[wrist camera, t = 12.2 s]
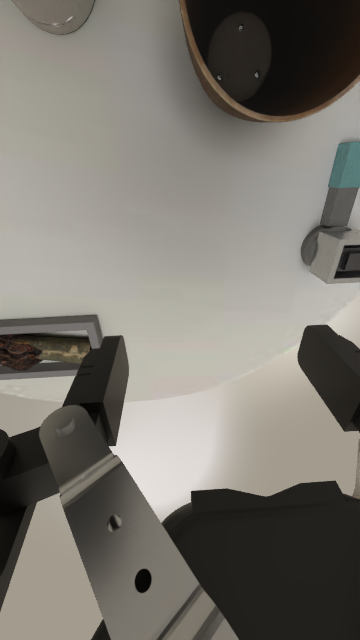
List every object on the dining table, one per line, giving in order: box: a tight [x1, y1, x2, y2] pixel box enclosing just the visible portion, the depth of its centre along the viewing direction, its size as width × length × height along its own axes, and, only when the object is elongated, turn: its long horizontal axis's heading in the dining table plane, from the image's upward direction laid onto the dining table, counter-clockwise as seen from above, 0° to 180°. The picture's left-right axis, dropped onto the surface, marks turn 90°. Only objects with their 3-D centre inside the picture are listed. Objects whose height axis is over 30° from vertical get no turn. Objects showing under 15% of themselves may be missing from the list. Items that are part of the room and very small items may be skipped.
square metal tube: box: [309, 230, 360, 284], centre depth 35 cm, size 6×6×5 cm
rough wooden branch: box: [0, 334, 92, 372], centre depth 45 cm, size 18×7×6 cm, turn 80°
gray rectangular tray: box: [0, 315, 103, 380], centre depth 46 cm, size 12×23×2 cm, turn 92°
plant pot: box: [179, 0, 360, 122], centre depth 21 cm, size 15×15×16 cm
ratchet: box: [301, 142, 360, 271], centre depth 33 cm, size 17×7×8 cm, turn 2°
